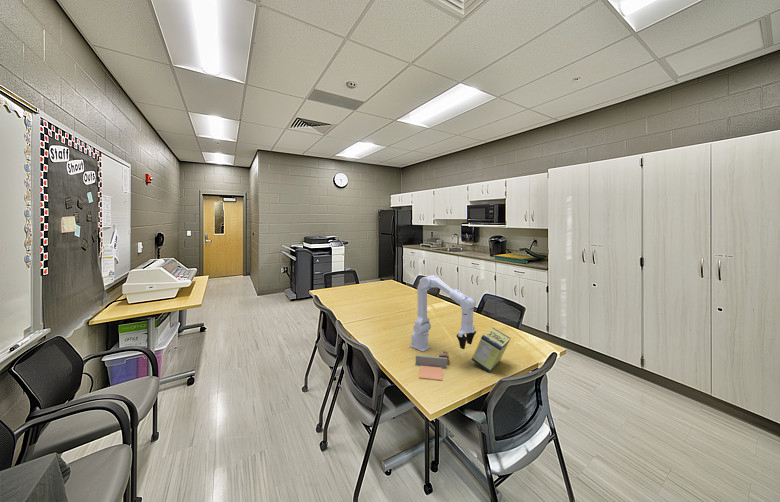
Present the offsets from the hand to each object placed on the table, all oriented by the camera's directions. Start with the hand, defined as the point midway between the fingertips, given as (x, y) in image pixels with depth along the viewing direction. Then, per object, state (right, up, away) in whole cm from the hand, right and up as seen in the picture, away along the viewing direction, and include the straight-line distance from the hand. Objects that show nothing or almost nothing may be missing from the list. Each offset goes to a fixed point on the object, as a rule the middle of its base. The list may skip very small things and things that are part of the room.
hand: (465, 346), depth 147 cm
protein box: (+11, -9, +2) cm, 14 cm away
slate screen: (-18, -10, -1) cm, 21 cm away
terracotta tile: (-20, -11, -8) cm, 24 cm away
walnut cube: (-11, -10, +3) cm, 15 cm away
